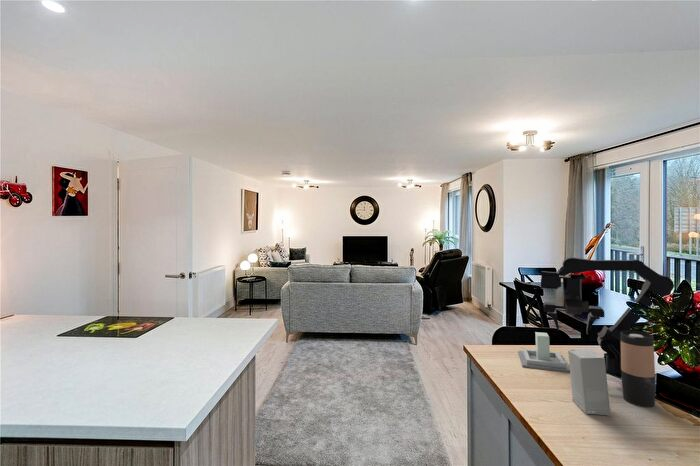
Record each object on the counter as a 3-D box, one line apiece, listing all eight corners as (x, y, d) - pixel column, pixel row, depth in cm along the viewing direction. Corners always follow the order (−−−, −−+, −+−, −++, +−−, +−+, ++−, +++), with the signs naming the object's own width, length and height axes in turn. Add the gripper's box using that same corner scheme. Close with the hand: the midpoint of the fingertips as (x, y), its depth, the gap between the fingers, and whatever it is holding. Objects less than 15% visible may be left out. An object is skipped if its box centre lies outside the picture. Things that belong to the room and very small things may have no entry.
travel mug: (647, 396, 101) (645, 331, 101) (661, 409, 94) (659, 338, 94) (617, 393, 104) (615, 329, 104) (628, 405, 97) (626, 336, 97)
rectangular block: (547, 358, 132) (546, 332, 132) (550, 362, 127) (549, 336, 127) (536, 357, 133) (535, 332, 133) (538, 361, 129) (537, 335, 129)
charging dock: (562, 356, 135) (561, 351, 135) (572, 372, 120) (571, 366, 120) (518, 352, 141) (518, 347, 141) (522, 367, 126) (522, 360, 126)
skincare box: (611, 416, 91) (609, 359, 91) (582, 414, 93) (580, 357, 93) (595, 401, 99) (593, 348, 100) (568, 399, 101) (567, 347, 101)
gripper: (543, 292, 122) (543, 334, 122) (606, 296, 113) (607, 342, 113) (543, 287, 132) (543, 326, 132) (601, 291, 123) (602, 333, 123)
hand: (572, 332), depth 125 cm, fingers open, 9 cm apart
